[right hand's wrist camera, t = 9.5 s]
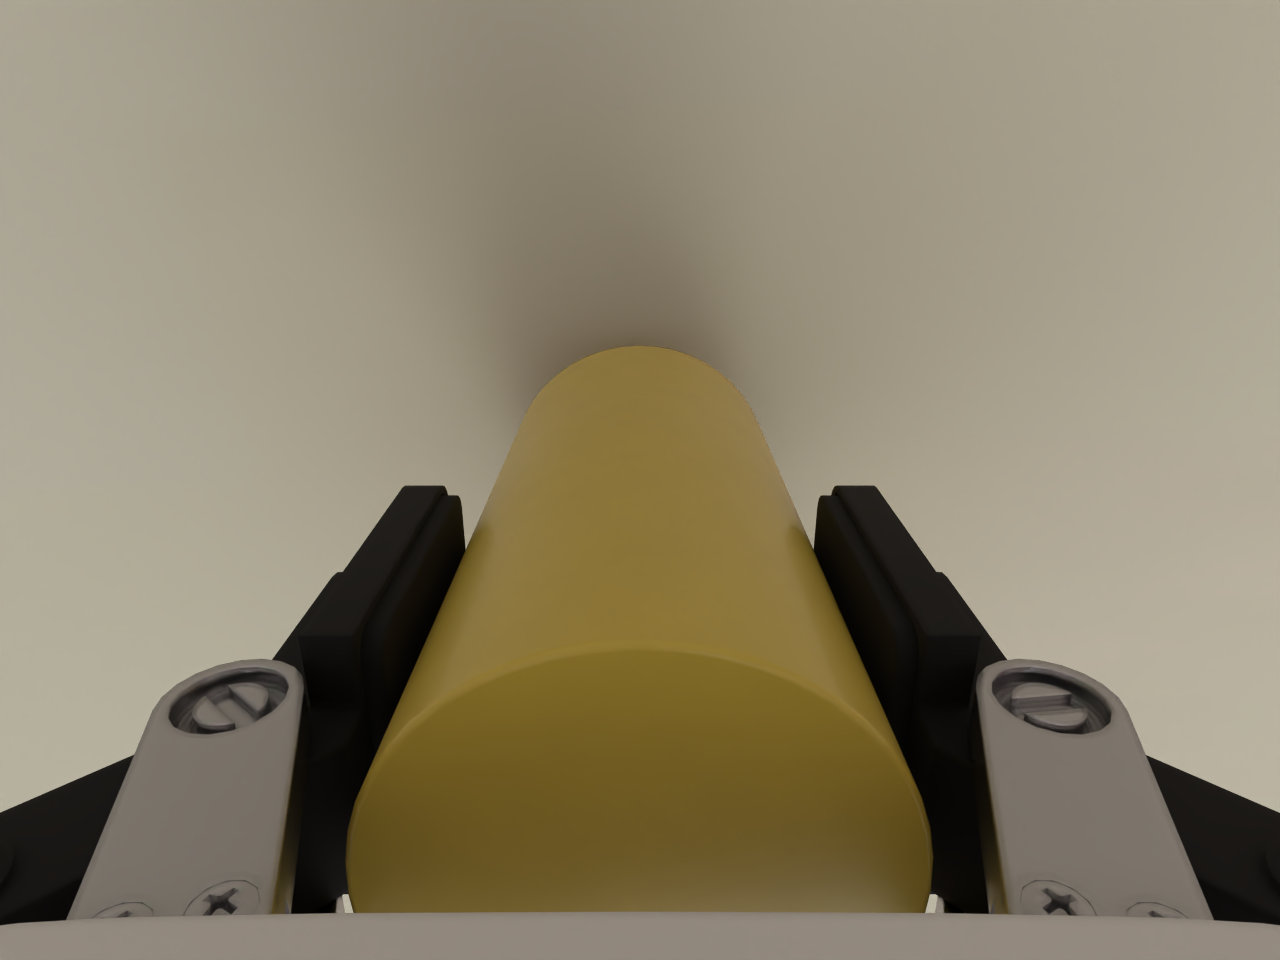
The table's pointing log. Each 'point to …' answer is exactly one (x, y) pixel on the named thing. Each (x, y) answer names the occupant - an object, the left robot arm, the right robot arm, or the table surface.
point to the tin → (639, 685)
